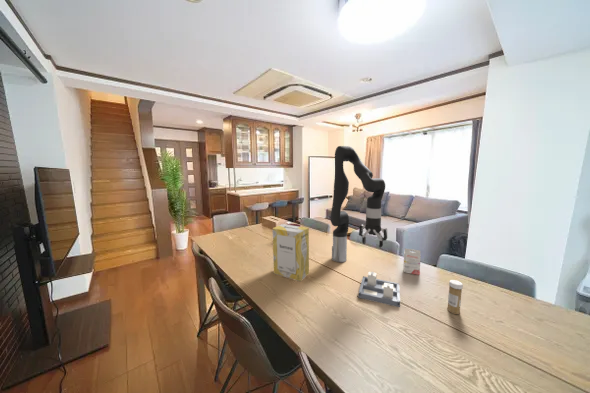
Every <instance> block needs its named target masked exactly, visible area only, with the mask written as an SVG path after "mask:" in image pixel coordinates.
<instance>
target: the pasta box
mask: <svg viewBox="0 0 590 393" xmlns="http://www.w3.org/2000/svg"><path fill="white" fill-rule="evenodd" d="M309 231H310V230H309V227H304V226H301V227H299V226H293V225H288V224H284V223H281V224H279V225H277V226H274V227H273V228H272V255H273V256H272V259H273V260H272V261H273V263H272V264H273V274H274V275H276V276H280V277H283V278H287V279H290V280H294V281H297V282H302V281H303V280H304V279H305V278H306V277H307V276H308V275H309V273H310V240H309V239H310V232H309Z"/></svg>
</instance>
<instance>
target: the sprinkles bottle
mask: <svg viewBox="0 0 590 393" xmlns="http://www.w3.org/2000/svg"><path fill="white" fill-rule="evenodd" d="M448 285H449V287H448V288H449V289H448V295H447V296H448V298H447V307H446V310H447V311H448V312H450V313H451V314H453V315H460V313H461V304H462V293H463V292H462V291H463V290H462V289H463V287H464V284H463V283H462V282H461V281H459V280H456V279H450V280H449V284H448Z"/></svg>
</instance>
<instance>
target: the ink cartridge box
mask: <svg viewBox="0 0 590 393" xmlns="http://www.w3.org/2000/svg"><path fill="white" fill-rule="evenodd" d="M421 257H422V256H421V250H418V249H412V248H404V251H403V268H402V269H403V270H402V271H403V273H406V274H407V273H408V274H413V275H418V276H419V275H421Z"/></svg>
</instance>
